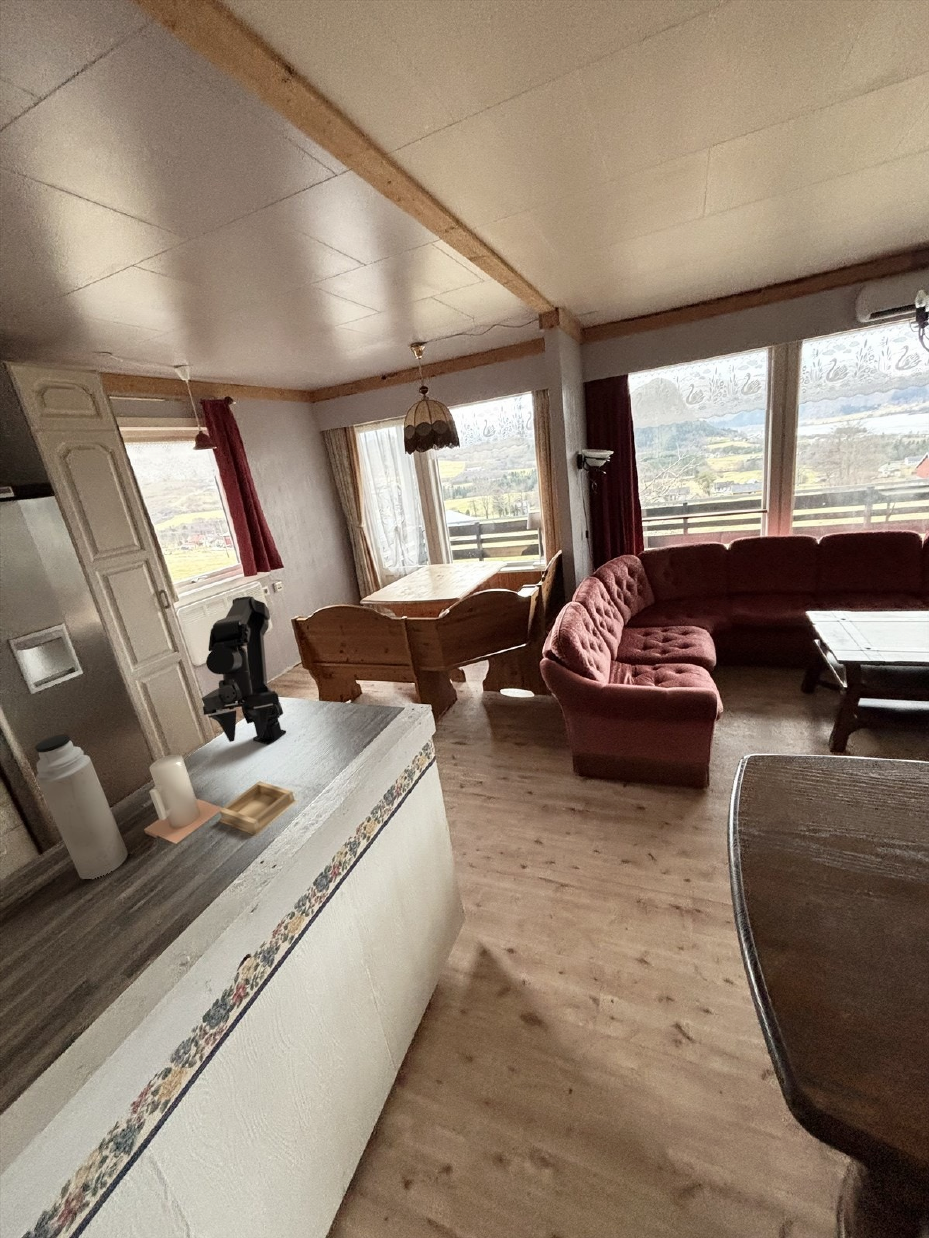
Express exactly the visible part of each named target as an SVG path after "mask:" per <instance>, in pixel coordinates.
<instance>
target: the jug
mask: <svg viewBox="0 0 929 1238" xmlns="http://www.w3.org/2000/svg"><path fill="white" fill-rule="evenodd" d="M149 771H150V775H151V778H152V779H153V783H154V787H153V788H151V790H149V794H150V797H151V800H152V802H153V805H154V809H155V811H156V813H157V816H158V820H159V819H160V820H164V819H166V818H167V819H168V822H169V825H170V827H172V828H182V827H185V826H187V825H189V824H191V823H193V822H194V821H195V820H197V819H198V817H199V816H200V809H199V806H198V803H197V800H196V794H195V790H194V789H193V784H192V782H191V780H190V779H191V778H190V776H189V773H188V770H187V767H186V765H185V760H184V757H183V756H182V755H181V754H169V755H166V756H163V757H161V758H159V759H157V760H155V761H154V762H153V763H152V764H151V765H150V766H149Z"/></svg>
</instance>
